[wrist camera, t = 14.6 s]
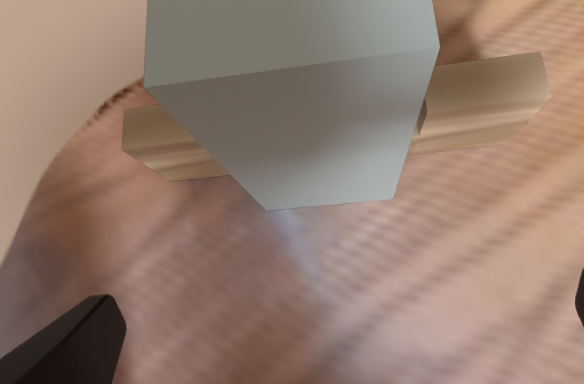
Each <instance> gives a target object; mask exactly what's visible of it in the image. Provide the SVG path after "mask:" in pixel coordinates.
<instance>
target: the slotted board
mask: <svg viewBox="0 0 584 384" xmlns="http://www.w3.org/2000/svg"><path fill="white" fill-rule="evenodd" d="M551 97H552V94H551V90H550V86H549V82H548V78H547V75H546V71H545V67H544V63H543V59H542V56H541V52H540V51H539V52H532V53H525V54H518V55H511V56H503V57H496V58H489V59H482V60H475V61H468V62H460V63H453V64H446V65H439V66H434V68H433V72H432V75H431V78H430V81H429V84H428V88H427V91H426V94H425V97H424V100H423V104H422V107H421V110H420V113H419V116H418V119H417V123H416V126H415V129H414V132H413V135H412V139H411V142H410V145H409V148H408V151H407V155H412V154H421V153H430V152H439V151H448V150H457V149H466V148H474V147H483V146H492V145H501V144H508V143H509V142H510V141H511V140H512V139H513V138H514V137H515V136H516V134H517V133H518V132H519V131H520V130H521V129H522V128H523V127H524V126H525V125H526V124H527V123H528V121H529V120H530V119H531V118H532V117H533V116H534V115H535V114H536V113H537V112H538V111H539V110H540V108H541V107H542V106H543V105H544V104H545V103H546V102H547V101H548V100H549V99H550V98H551ZM122 150H123V151H124V152H126V153H128V154H129V155H131V156H132V157H134V158H135V159H137V160H138V161H140V162H141V163H143V164H144V165H146V166H148V167H149V168H151V169H152V170H154V171H155V172H157V173H158V174H160V175H161V176H163V177H164V178H166V179H168V180H169V181H180V180H189V179H198V178H207V177H216V176H225V175H230V174H229V173H228V172H227V171H226V170H225V169H224V168H223V167H222V166H221V165H220V164H219V163H218V162H217V161H216V160H215V159H214V158H213V157H212V156H211V155H210V154H209V153H208V152H207V151H206V150H205V149H204V148H203V147H202V146H201V145H200V144H199V143H198V142H197V141H196V140H195V139H194V138H193V137H192V136H191V135H190V134H189V133H188V132H187V131H186V130H185V129H184V128H183V127H182V126H181V125H180V124H179V123H178V122H177V121H176V120H175V119H174V118H173V117H172V116H171V115H170V114H169V113H168V112H167V111H166V110H165V109H164V108H163V107H162V106H161V105H160V104H159V105H152V106H145V107H137V108H130V109H124V119H123V137H122Z"/></svg>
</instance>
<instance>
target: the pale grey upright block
mask: <svg viewBox="0 0 584 384" xmlns="http://www.w3.org/2000/svg"><path fill="white" fill-rule="evenodd" d="M439 49H440V44H439V38H438V32H437V26H436V21H435V15H434V9H433V3H432V0H148V4H147V23H146V42H145V62H144V82H143V88H144V89H145V90H146V91H147V92H148V93H149V94H150V95H151V96H152V97H153V98H154V99H155V100H156V101H157V102H158V103H159V104H160V105H161V106H162V107H163V108H164V109H165V110H166V111H167V112H168V113H169V114H170V115H171V116H172V117H173V118H174V119H175V120H176V121H177V122H178V123H179V124H180V125H181V126H182V127H183V128H184V129H185V130H186V131H187V132H188V133H189V134H190V135H191V136H192V137H193V138H194V139H195V140H196V141H197V142H198V143H199V144H200V145H201V146H202V147H203V148H204V149H205V150H206V151H207V152H208V153H209V154H210V155H211V156H212V157H213V158H214V159H215V160H216V161H217V162H218V163H219V164H220V165H221V166H222V167H223V168H224V169H225V170H226V171H227V172H228V173H229V174H230V175H231V176H232V177H233V178H234V179H235V180H236V181H237V182H238V183H239V184H240V185H241V186H242V187H243V188H244V189H245V190H246V191H247V192H248V193H249V194H250V195H251V196H252V197H253V198H254V199H255V200H256V201H257V202H258V203H259V204H260V205H261V206H262V207H263V208H264V209H265V210H277V209H289V208H300V207H311V206H323V205H334V204H345V203H356V202H368V201H379V200H390V199H393V196H394V193H395V190H396V187H397V183H398V180H399V177H400V174H401V171H402V167H403V164H404V161H405V158H406V155H407V151H408V148H409V145H410V142H411V139H412V135H413V132H414V129H415V126H416V123H417V119H418V116H419V113H420V110H421V107H422V104H423V100H424V97H425V94H426V91H427V88H428V84H429V81H430V78H431V75H432V72H433V68H434V65H435V62H436V59H437V56H438V52H439Z"/></svg>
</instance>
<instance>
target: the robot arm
mask: <svg viewBox="0 0 584 384" xmlns="http://www.w3.org/2000/svg"><path fill="white" fill-rule="evenodd" d="M575 307H576V311H577V313H578V316H579V318H580V320H581V322H582V324H583V327H584V268H583V270H582V273H581V277H580V281H579V285H578V289H577V293H576V297H575ZM125 335H126V322H125V320H124V318H123V316H122V313H121V311H120V309H119V307H118V305H117V303H116V301H115V299H114V297H112V296H111V295H108V294H105V295H93V296H89V297H88V298H86V299H85V300H83V301H82V302H81V303H79V304H78V305H76V306H75V307H73V308H72V309H71V310H69V311H68V312H66V313H65V314H63V315H62V316H61V317H59V318H58V319H56V320H55V321H53V322H52V323H51V324H49V325H48V326H46V327H45V328H44V329H42V330H41V331H39V332H38V333H36V334H35V335H34V336H32V337H31V338H29V339H28V340H26V341H25V342H24V343H22V344H21V345H19V346H18V347H16V348H15V349H14V350H12V351H11V352H9V353H8V354H6V355H5V356H4V357H2V358H1V359H0V384H112V380H113V377H114V373H115V370H116V366H117V363H118V359H119V356H120V352H121V349H122V346H123V342H124V339H125Z"/></svg>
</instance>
